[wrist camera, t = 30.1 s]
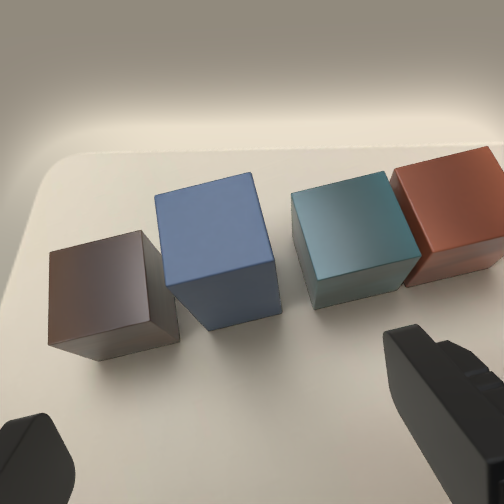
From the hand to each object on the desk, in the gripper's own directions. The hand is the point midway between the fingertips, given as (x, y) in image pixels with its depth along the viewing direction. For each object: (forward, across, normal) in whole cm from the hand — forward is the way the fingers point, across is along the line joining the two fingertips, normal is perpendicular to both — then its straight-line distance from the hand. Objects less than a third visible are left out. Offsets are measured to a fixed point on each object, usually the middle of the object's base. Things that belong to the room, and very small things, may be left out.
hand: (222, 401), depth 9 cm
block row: (+14, -3, +4) cm, 15 cm away
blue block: (+14, 0, +4) cm, 14 cm away
